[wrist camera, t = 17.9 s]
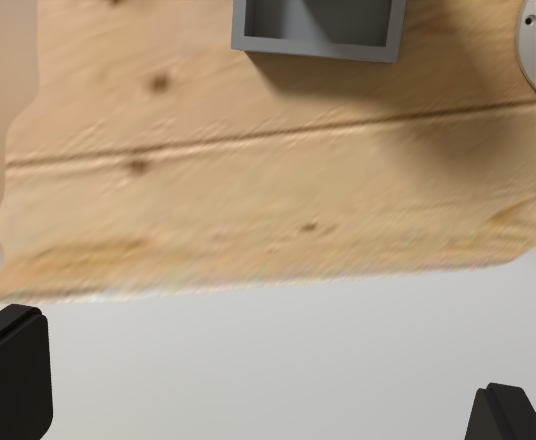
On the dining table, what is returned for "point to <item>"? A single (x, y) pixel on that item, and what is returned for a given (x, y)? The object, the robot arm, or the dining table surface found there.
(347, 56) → the bin
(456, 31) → the dining table surface
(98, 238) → the dining table surface
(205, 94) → the dining table surface
